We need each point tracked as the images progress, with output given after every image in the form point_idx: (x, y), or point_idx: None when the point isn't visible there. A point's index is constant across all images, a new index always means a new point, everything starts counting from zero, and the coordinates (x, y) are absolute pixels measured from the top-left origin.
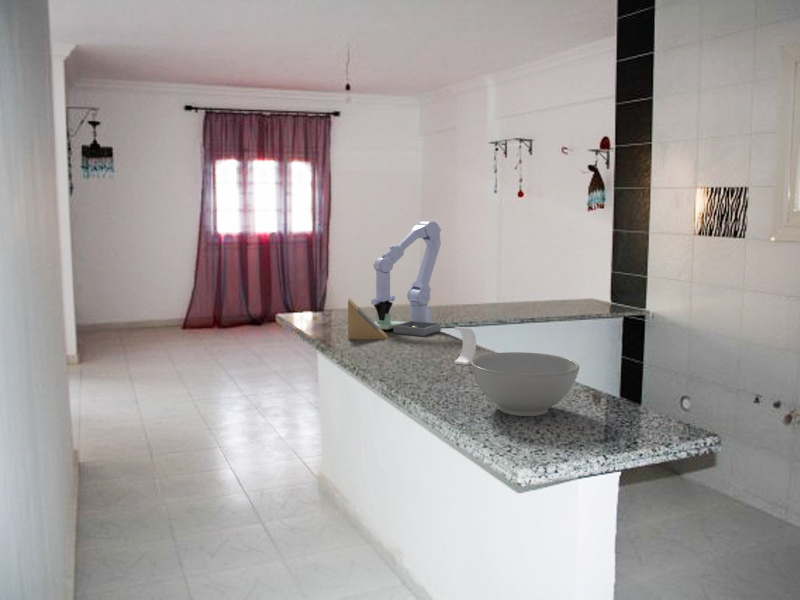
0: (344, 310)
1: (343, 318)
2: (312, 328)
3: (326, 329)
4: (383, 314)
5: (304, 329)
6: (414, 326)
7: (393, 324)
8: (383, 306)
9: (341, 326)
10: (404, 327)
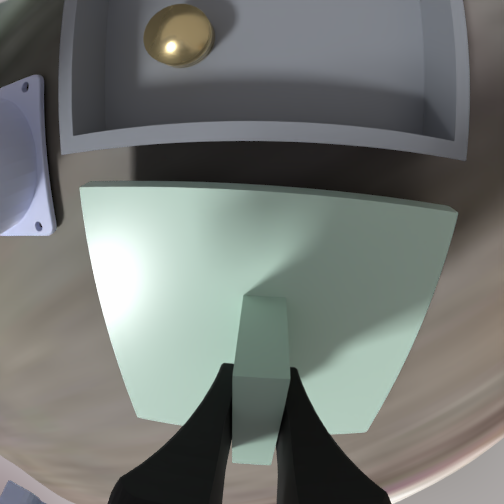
0: (55, 491)
1: None
2: None
3: (397, 472)
4: (315, 413)
5: (410, 492)
6: (193, 19)
7: (314, 232)
8: (383, 493)
9: None
10: (461, 27)
